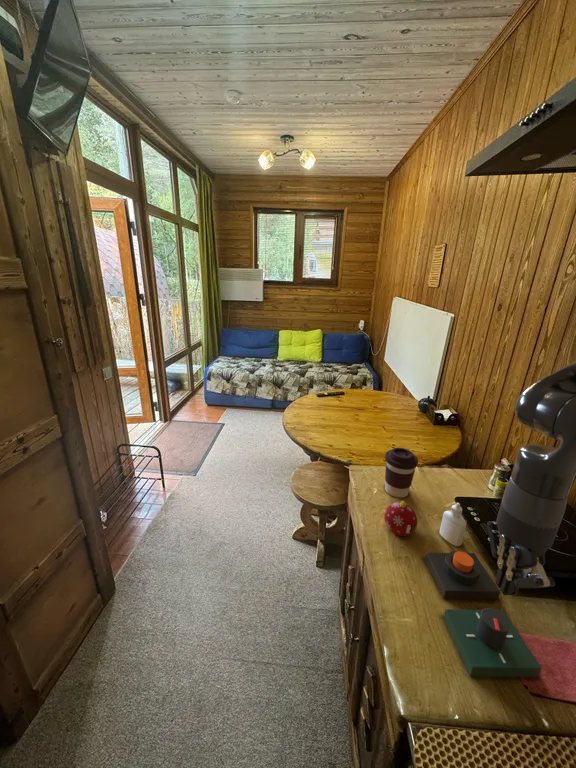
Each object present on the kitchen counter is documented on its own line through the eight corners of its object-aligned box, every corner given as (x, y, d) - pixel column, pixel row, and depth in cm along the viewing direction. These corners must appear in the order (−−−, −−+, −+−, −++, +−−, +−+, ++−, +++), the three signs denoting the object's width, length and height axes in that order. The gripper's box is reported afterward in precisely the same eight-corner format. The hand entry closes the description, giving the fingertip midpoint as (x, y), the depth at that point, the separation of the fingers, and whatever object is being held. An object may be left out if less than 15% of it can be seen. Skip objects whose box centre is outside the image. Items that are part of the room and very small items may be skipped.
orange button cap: (466, 558, 73) (467, 551, 72) (475, 573, 69) (477, 566, 68) (449, 557, 73) (450, 551, 72) (458, 573, 69) (459, 566, 68)
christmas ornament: (405, 518, 91) (410, 490, 88) (421, 541, 83) (426, 511, 80) (378, 520, 90) (381, 492, 87) (390, 544, 82) (395, 513, 79)
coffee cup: (375, 491, 103) (380, 452, 98) (389, 479, 109) (395, 441, 105) (403, 506, 96) (410, 465, 91) (417, 492, 103) (424, 453, 98)
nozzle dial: (474, 620, 61) (479, 602, 59) (500, 629, 59) (506, 611, 58) (478, 643, 57) (484, 625, 55) (506, 653, 55) (512, 635, 54)
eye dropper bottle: (447, 548, 81) (455, 510, 77) (437, 531, 86) (444, 496, 83) (463, 548, 81) (472, 511, 77) (452, 532, 86) (460, 496, 83)
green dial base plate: (500, 620, 64) (503, 609, 63) (537, 679, 54) (542, 667, 53) (442, 619, 64) (445, 608, 63) (469, 678, 54) (473, 666, 53)
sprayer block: (471, 562, 77) (475, 546, 75) (497, 601, 68) (502, 584, 66) (424, 561, 77) (427, 545, 75) (443, 600, 67) (447, 583, 66)
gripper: (593, 543, 42) (557, 630, 48) (523, 483, 55) (500, 557, 61) (539, 542, 42) (509, 630, 48) (481, 482, 55) (463, 557, 61)
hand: (504, 589), depth 54 cm, fingers closed
